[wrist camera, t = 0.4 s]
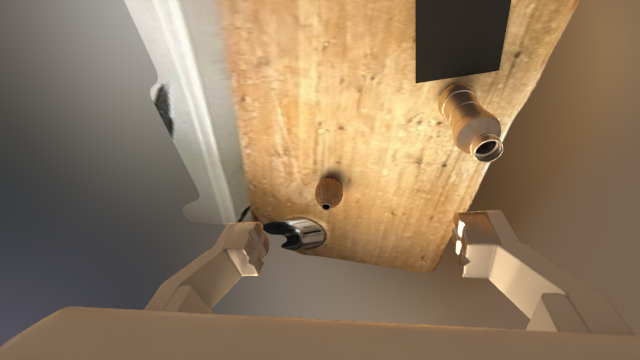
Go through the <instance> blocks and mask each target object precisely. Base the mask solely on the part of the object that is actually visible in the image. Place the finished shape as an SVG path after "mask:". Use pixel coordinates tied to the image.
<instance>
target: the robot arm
mask: <svg viewBox="0 0 640 360" xmlns="http://www.w3.org/2000/svg"><path fill="white" fill-rule="evenodd" d="M453 220H454V224H455V227H454V228H453V231H452V237H453V245H454V248H455V252H456V253H457V254H458V255H459V265H460V268H461V272H462V275H463V277H467V278H468V277H469V278H489V280H490V281H491V282H493V284H495V285H496V286H497V287H498V288H499V289H500V290H501V291H502V292H503V293H504V294H505V295H506V296H507V297H508V298H509V299H510V300H511V301H512V302H513V303H514V304H515V305H516V306H517V307H518V308H519V309H520V310H522V311H523V312H524V313H525V314H526V315H527V316H528V317H529V318H530V319H531V320H530V322H529V325H528V327H527V329H526V330H516V329H497V328H477V327H458V326H439V325H418V324H399V323H379V322H360V321H340V320H321V319H302V318H282V317H263V316H244V315H224V314H214V313H213V312H212V311H211V308H212V307H214V305H215V304H216V303H217V302H218V301H219V300H220V299H221V298H222V297H223V296H224V295H225V294H226V293H227V292H228V291H229V290H230V289H231V287H233V286H234V285H235V283H236V282H237V281H238V280H239V279H240V278H241V277H242V276H258V275H259V273H260V271H261V268H262V266H263V260H262V259H263V258H264V257H265V256H266V255H267V253H268V250H269V239H268V236H267V235H266V234H265V233H264V232H262V230H263V226H262V224H261V223H260V222H239V223H229V224H227V225H226V227H225V229H224V230H223V232H222V234H221V235H220V237H219V239H218V240H217V242H216V243H215V245H214V247H213V249H212V250H208V251H207V252H205V253H204V254H202V255H201V256H200V257H198V258H197V259H195V260H194V261H193V262H191V263H190V264H189V265H187V266H186V267H185V268H183V269H182V270H180V271H179V272H178V273H177V274H175V275H174V276H172V277H171V278H170V279H168V280H167V281H165V282H164V283H163V284H162V285H161V286H160V287H159V289H158V290H157V292H156V293H155V295H154V296H153V297H152V299H151V300H150V302H149V303H148V305H147V306H146V307H145V309H144V310H128V309H109V308H90V307H66V308H63V309H61V310H59V311H57V312H55V313H53V314H52V315H50V316H48V317H46V318H44V319H43V320H41V321H39V322H38V323H36V324H34V325H33V326H31V327H29V328H28V329H26V330H24V331H23V332H21V333H20V334H18V335H16V336H15V337H13V338H12V339H10V340H9V341H8V342H6V343H5V344H4V345H2V346H1V347H0V360H640V336H636V335H635V334H634V332H633V331H632V330H631V328H630V327H629V325H628V324H627V323H626V321H625V320H624V319H623V318H622V316H621V315H620V313H619V312H618V311H617V309H616V308H615V307H614V305H613V304H612V303H611V301H610V300H609V298H608V297H607V296H606V295H605V293H603V292H602V291H600V290H599V289H597V288H595V287H594V286H592V285H590V284H589V283H587V282H586V281H584V280H582V279H581V278H579V277H578V276H576V275H574V274H573V273H571V272H570V271H568V270H566V269H565V268H563V267H562V266H560V265H558V264H557V263H555V262H554V261H552V260H550V259H549V258H547V257H545V256H544V255H542V254H541V253H539V252H538V251H536V250H534V249H533V248H531V247H529V246H528V245H526V244H520V242H519V241H518V239H517V237H516V235H515V234H514V232H513V230H512V228H511V227H510V225H509V223H508V221H507V220H506V218H505V216H504V214H503V213H502V211H500V210H490V211H474V212H456V213H454V219H453Z"/></svg>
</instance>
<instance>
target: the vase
mask: <svg viewBox="0 0 640 360" xmlns="http://www.w3.org/2000/svg"><path fill="white" fill-rule="evenodd" d="M342 196H343V189H342V186H341V184H340V182H339V181H337V180H336V179H334V178H325V179H323V180H321V181H320V182H319V184H318V185H317V187H316V190H315V198H316V201H317V202H318V204H319V205H320V206H321V208H322V209H323V210H325V211H328V210H330V209H331V208H334V207H336V206H337V205H338V204H339V203H340V201H341V199H342Z"/></svg>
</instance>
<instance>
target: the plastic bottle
mask: <svg viewBox="0 0 640 360" xmlns="http://www.w3.org/2000/svg"><path fill="white" fill-rule="evenodd" d="M438 107H439V111H440V113H441V115H442V116H443V117H444V118H445V119H447V121H448V122H449V123H450V126H451V129H452V134H453V140H454V143H455V145H456V146H457V147H458V148H459V149H460V150H462V151H463V152H465V153H469V154H472V155H473V156H474V158H475V159H476V160H477V161H479V162H482V163H488V162H492V161H494V160H496V159H497V158H499V156H500V155H501V154H502V152H503V145H502V143H501V141H500V139H499V137H500V134H501V127H500V123H499V121H498V119H497V118H496V117H495V116H494V115H492V114H491V113H490V112H488V111H487V110H485V109H484V108H483V107H482V106H481V105H480V103H479V101H478V98H477V95H476V92H475V91H474V89H473V88H472V87H470V86H468V85H466V84H463V83H457V84H453V85H451V86H449V87H447V88H446V89H445V90H444V91H443V92H442V94H441V95H440V98H439V101H438Z"/></svg>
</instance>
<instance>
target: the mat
mask: <svg viewBox="0 0 640 360" xmlns="http://www.w3.org/2000/svg"><path fill="white" fill-rule="evenodd" d="M510 4H511V0H416V83H420V82H427V81H433V80H440V79H447V78H453V77H460V76H466V75H473V74H479V73H486V72H492V71H499V67H500V62H501V56H502V50H503V44H504V38H505V33H506V27H507V21H508V15H509V10H510Z"/></svg>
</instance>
